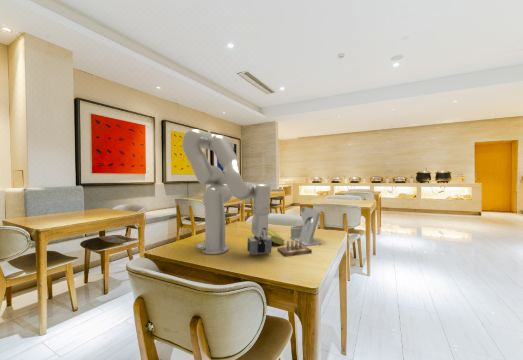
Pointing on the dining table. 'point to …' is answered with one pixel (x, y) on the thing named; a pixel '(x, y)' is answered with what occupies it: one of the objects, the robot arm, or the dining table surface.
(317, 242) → the phone holder
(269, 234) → the yellow-green folded towel
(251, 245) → the block
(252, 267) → the dining table surface
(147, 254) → the dining table surface
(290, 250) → the brown peg board
